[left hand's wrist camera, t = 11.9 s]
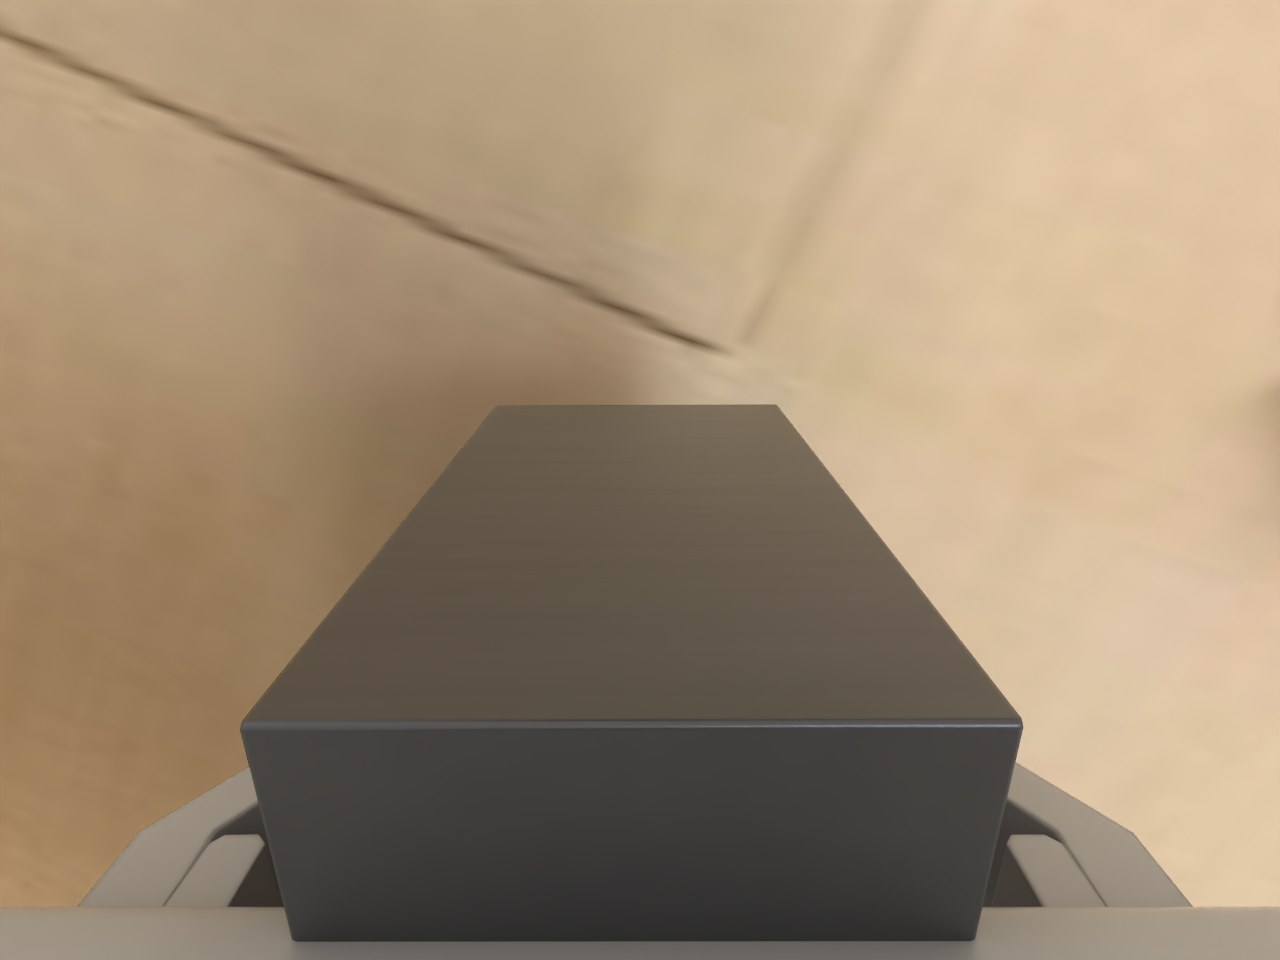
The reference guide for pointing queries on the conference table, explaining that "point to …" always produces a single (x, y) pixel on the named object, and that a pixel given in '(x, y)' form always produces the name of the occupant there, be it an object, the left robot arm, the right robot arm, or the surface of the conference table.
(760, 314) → the conference table surface
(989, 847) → the bar
